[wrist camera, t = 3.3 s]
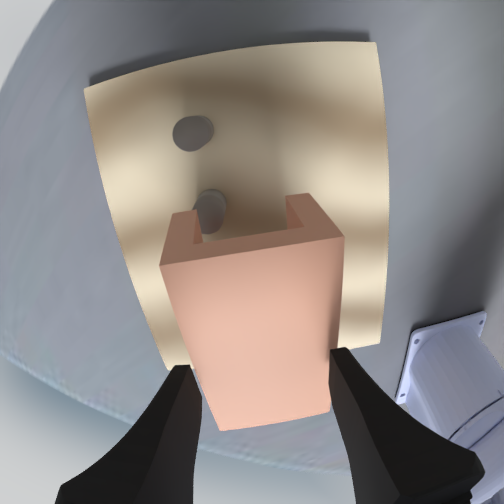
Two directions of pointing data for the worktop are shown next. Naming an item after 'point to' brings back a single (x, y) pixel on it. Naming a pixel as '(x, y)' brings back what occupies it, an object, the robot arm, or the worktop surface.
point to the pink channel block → (259, 313)
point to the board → (248, 163)
